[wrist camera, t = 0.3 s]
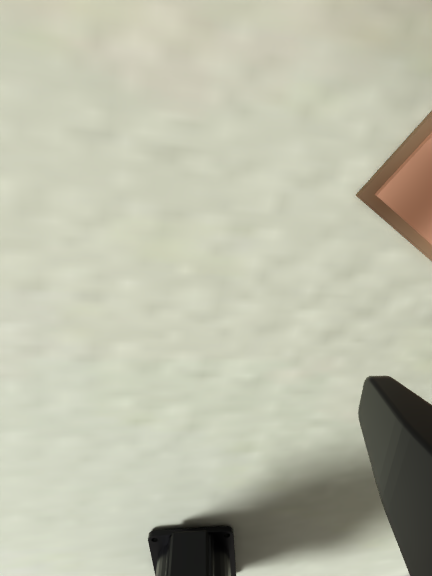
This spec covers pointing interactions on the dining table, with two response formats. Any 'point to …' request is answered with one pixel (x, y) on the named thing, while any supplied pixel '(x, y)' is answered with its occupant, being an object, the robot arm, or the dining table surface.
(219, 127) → the dining table surface
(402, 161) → the board
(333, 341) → the dining table surface
